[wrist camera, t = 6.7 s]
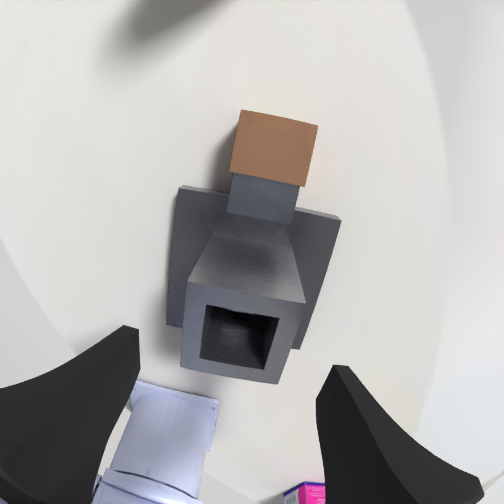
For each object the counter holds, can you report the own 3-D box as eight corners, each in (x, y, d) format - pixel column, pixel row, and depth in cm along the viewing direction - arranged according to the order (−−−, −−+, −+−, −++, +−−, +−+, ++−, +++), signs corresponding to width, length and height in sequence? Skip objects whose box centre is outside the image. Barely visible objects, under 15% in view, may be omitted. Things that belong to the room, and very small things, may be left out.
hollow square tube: (274, 313, 18) (277, 384, 12) (203, 300, 18) (180, 366, 12) (292, 247, 16) (306, 303, 11) (213, 232, 16) (187, 281, 10)
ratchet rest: (298, 340, 20) (303, 375, 16) (170, 316, 19) (155, 347, 16) (355, 141, 15) (378, 141, 12) (196, 108, 14) (179, 99, 11)
